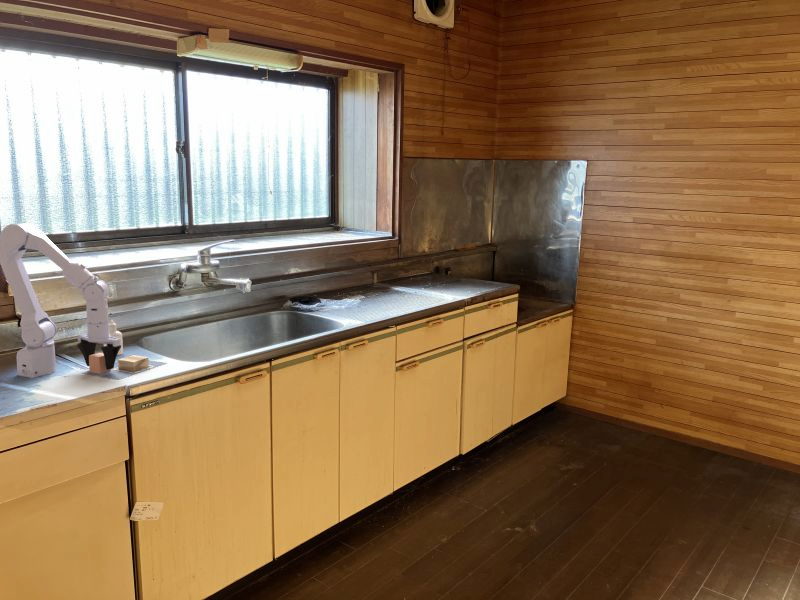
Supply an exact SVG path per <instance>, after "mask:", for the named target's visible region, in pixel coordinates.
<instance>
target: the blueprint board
mask: <svg viewBox="0 0 800 600" xmlns="http://www.w3.org/2000/svg"><path fill="white" fill-rule="evenodd" d="M148 360H149V367H147V368H144V369H141V370H138V371H135V372H132V371H126V370H120V369H118V361H117V362H115V364H114V368H112V369H111V370H110V371H107V372H104V373H101V374H98V373H93V372H90V370H89V371H84V372H81V374H83V375H88V376H89V375H90V376H95V377H100V378H105V379H110V380H115V381H120V380H122V379H126V378H129V377H132V376H134V375H138V374H140V373H144V372H146V371H149V370H152V369H155V368H158V367H161V366H163V365H166V364H168V363H167V362H163V361H157V360H156V361H155V360H150V359H148Z"/></svg>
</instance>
